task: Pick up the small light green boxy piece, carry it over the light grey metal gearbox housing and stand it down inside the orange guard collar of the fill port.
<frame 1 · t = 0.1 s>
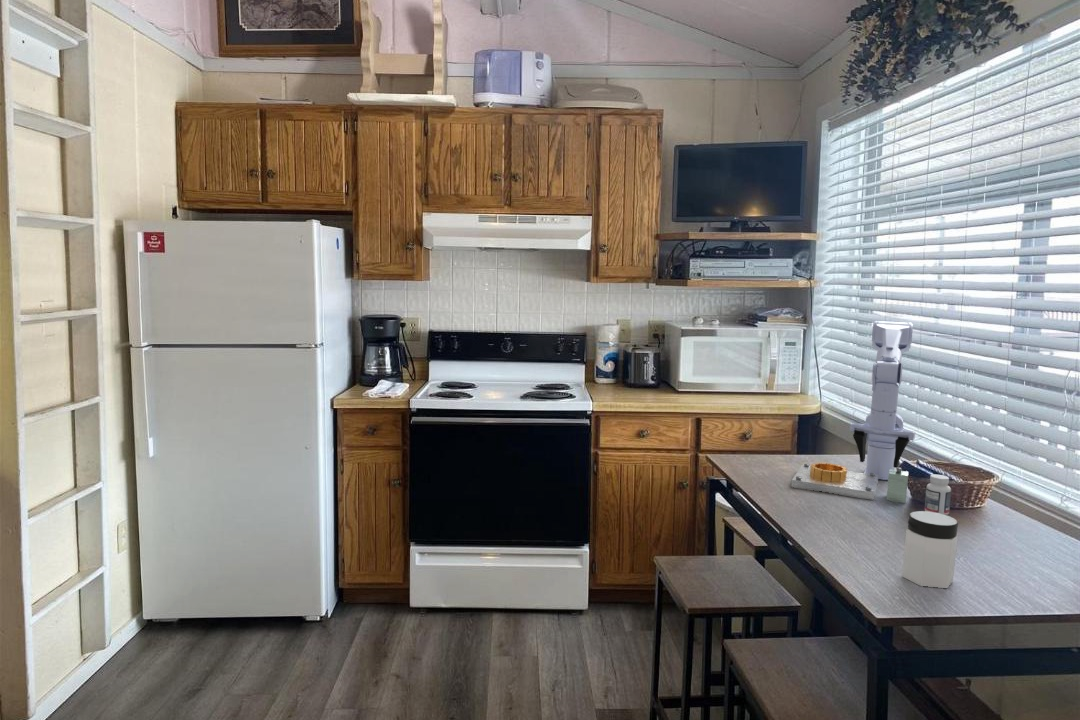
hand: (878, 464, 185), 10 cm above the table, tool pointing down, fingers open, 7 cm apart
gearbox housing: (835, 484, 201), on the table
pill bottle: (936, 513, 181), on the table
light green boxy piece: (896, 499, 190), on the table
jar: (927, 580, 141), on the table
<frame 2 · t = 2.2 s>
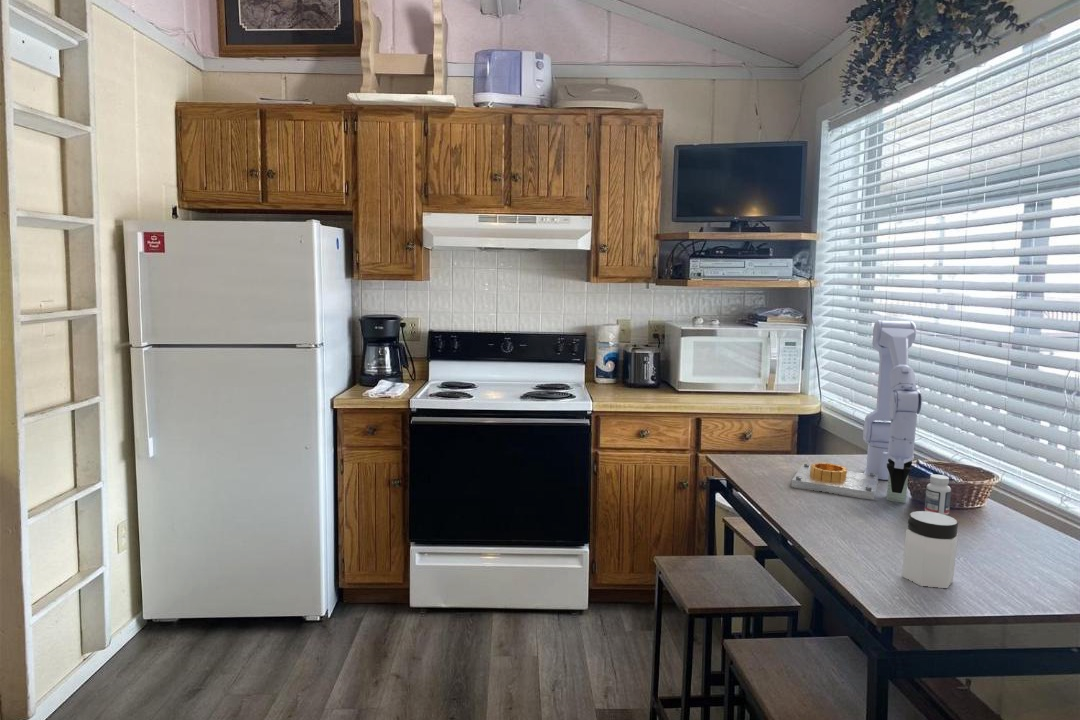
hand: (897, 489, 190), 2 cm above the table, tool pointing down, fingers closed on light green boxy piece, 4 cm apart
light green boxy piece: (896, 499, 190), on the table, touching gripper
everything else where it was.
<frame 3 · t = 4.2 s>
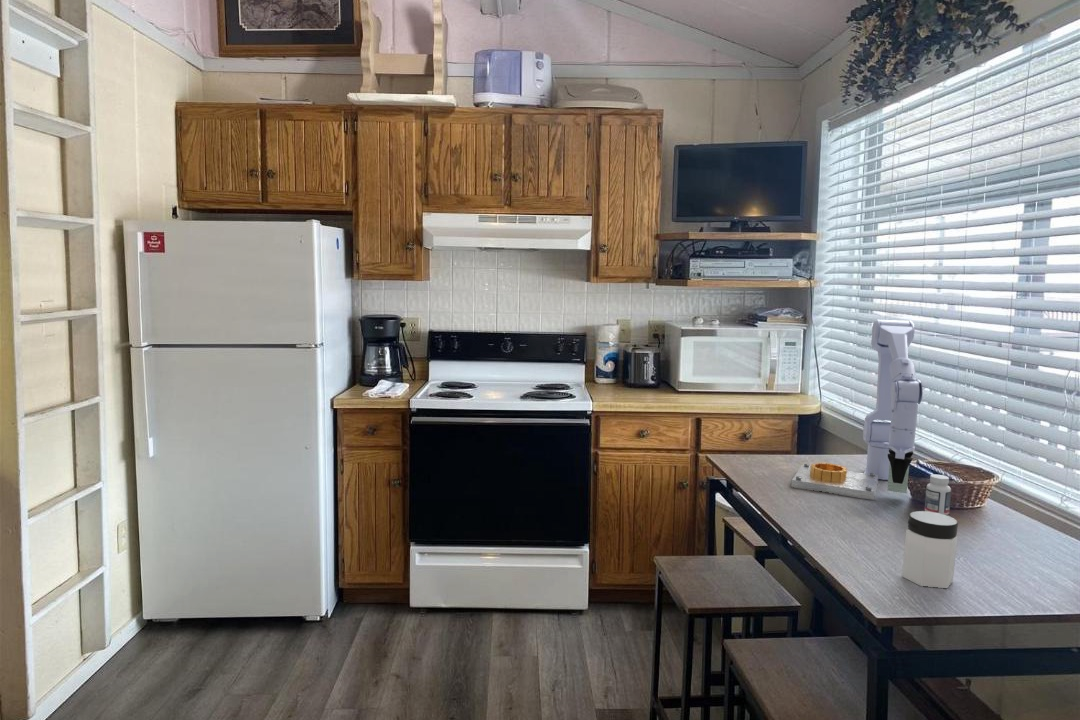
hand: (898, 480, 189), 5 cm above the table, tool pointing down, fingers closed on light green boxy piece, 4 cm apart
light green boxy piece: (897, 489, 190), point 2 cm above the table, touching gripper
everything else where it was.
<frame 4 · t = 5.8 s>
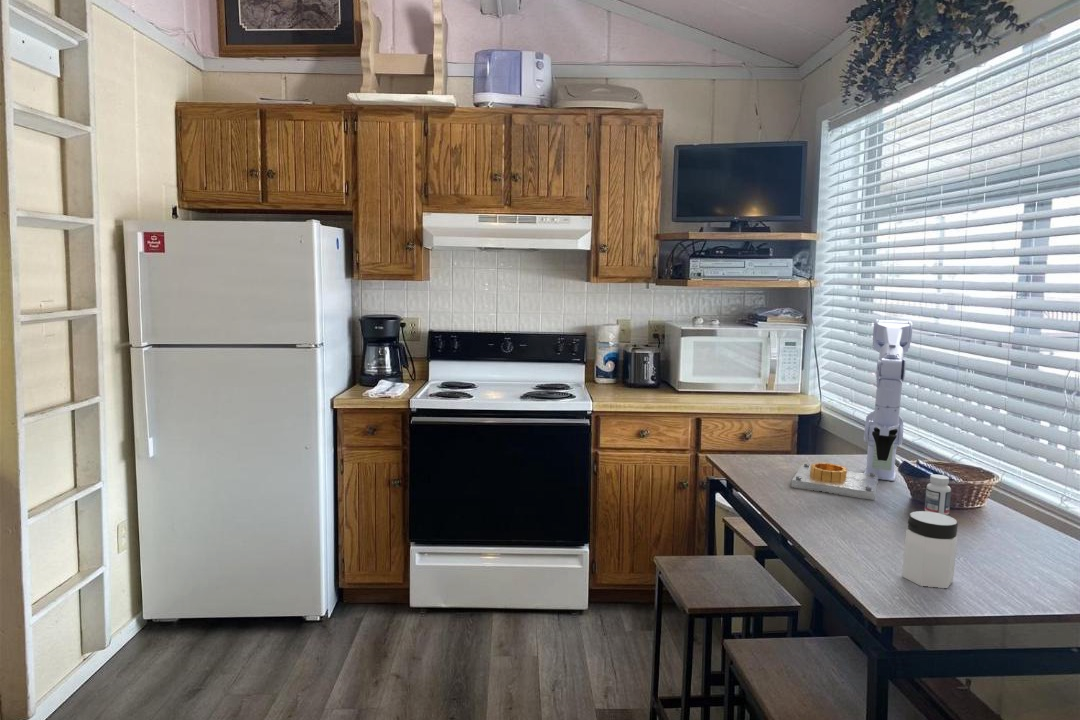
hand: (882, 458, 192), 10 cm above the table, tool pointing down, fingers closed on light green boxy piece, 4 cm apart
light green boxy piece: (881, 467, 192), point 7 cm above the table, touching gripper
everything else where it was.
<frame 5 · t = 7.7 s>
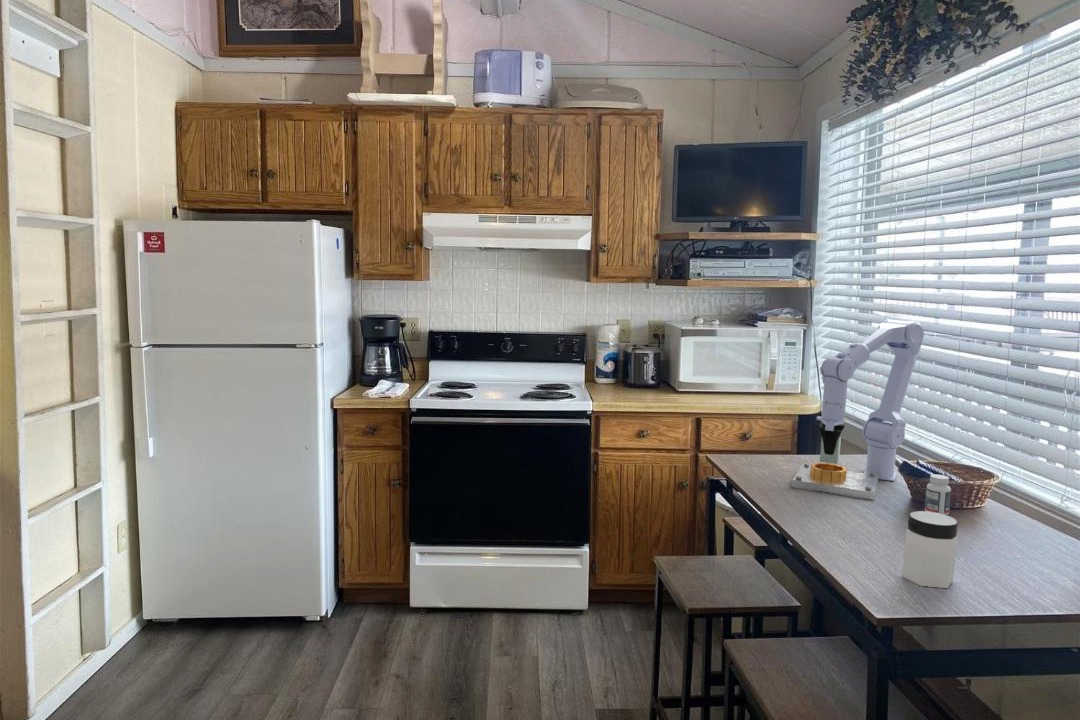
hand: (830, 452, 201), 9 cm above the table, tool pointing down, fingers closed on light green boxy piece, 4 cm apart
light green boxy piece: (829, 461, 201), point 6 cm above the table, touching gripper
everything else where it was.
when the fingers open (5 cm above the table, at t = 9.5 s): light green boxy piece stays where it is, resting on gearbox housing.
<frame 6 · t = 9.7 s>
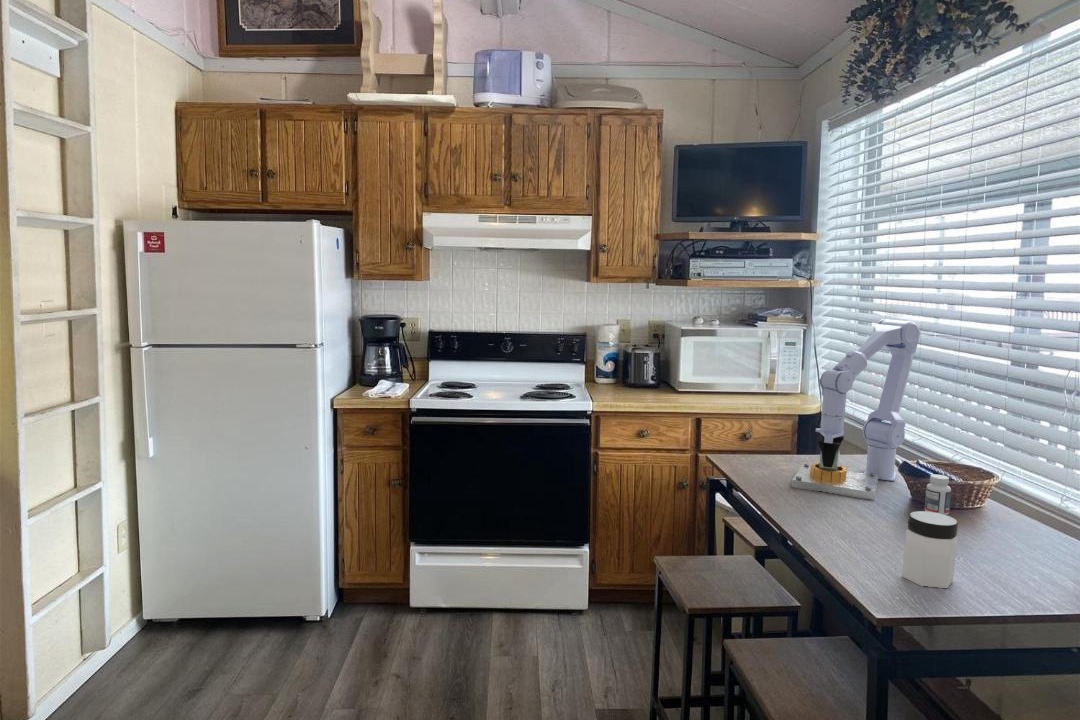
hand: (829, 464, 201), 5 cm above the table, tool pointing down, fingers open, 6 cm apart
light green boxy piece: (828, 476, 202), point 2 cm above the table, touching gearbox housing
everything else where it was.
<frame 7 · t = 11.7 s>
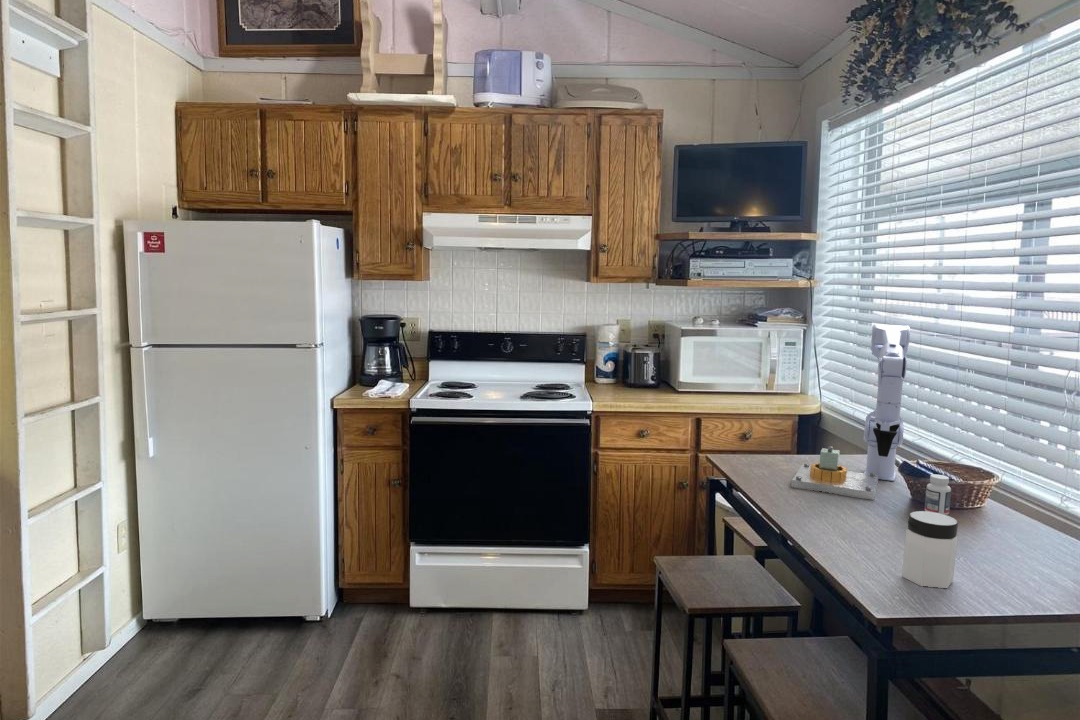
hand: (884, 453, 197), 10 cm above the table, tool pointing down, fingers open, 7 cm apart
nothing on the table moved.
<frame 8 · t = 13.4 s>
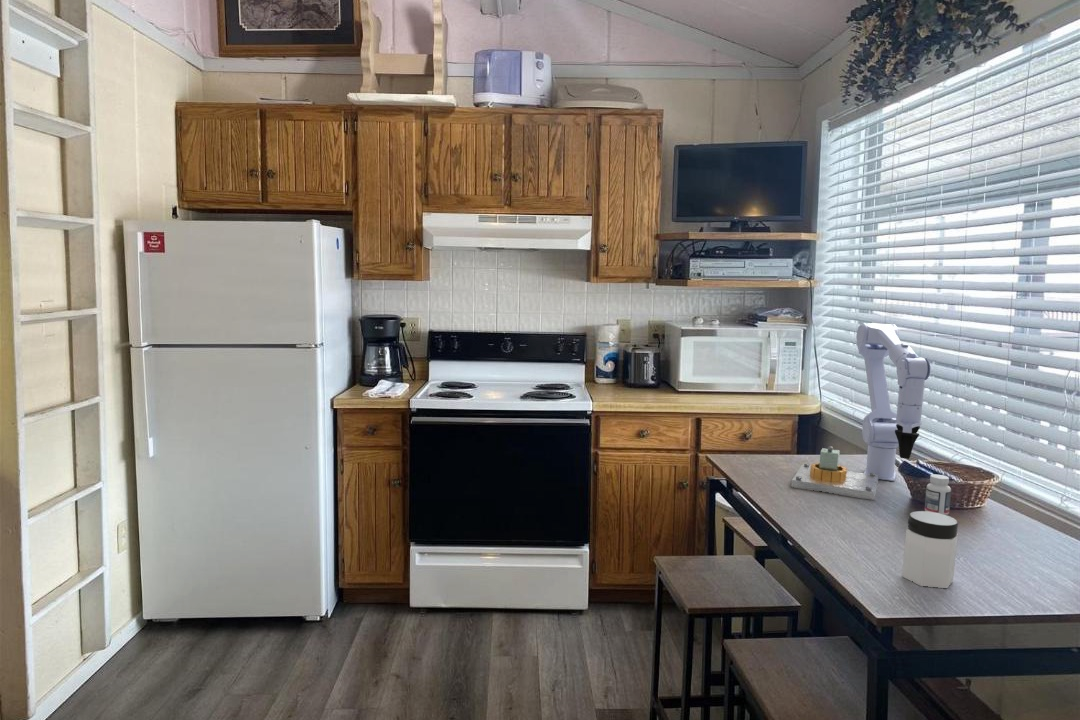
hand: (905, 454, 195), 10 cm above the table, tool pointing down, fingers open, 7 cm apart
nothing on the table moved.
at the end: light green boxy piece 0.0 cm from the target spot on the gearbox housing, point 2.0 cm above the gearbox housing's base; light green boxy piece tilted 0°; the gripper is holding nothing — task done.
